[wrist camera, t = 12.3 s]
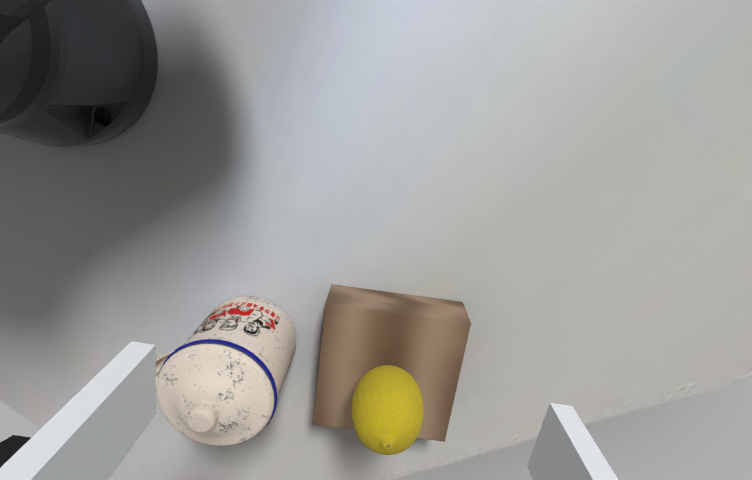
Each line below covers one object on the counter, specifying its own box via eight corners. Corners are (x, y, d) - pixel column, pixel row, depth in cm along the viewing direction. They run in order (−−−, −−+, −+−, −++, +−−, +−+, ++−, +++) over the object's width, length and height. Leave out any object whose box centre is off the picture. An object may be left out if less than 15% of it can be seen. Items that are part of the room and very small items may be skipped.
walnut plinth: (319, 395, 41) (312, 424, 38) (331, 284, 38) (325, 303, 34) (439, 411, 42) (444, 441, 38) (462, 302, 38) (470, 323, 34)
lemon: (385, 413, 37) (384, 491, 29) (342, 372, 36) (330, 443, 28) (433, 377, 36) (445, 449, 28) (390, 334, 35) (390, 397, 27)
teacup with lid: (293, 289, 38) (254, 362, 27) (305, 375, 41) (273, 473, 30) (165, 296, 39) (75, 370, 28) (185, 380, 41) (110, 478, 30)
